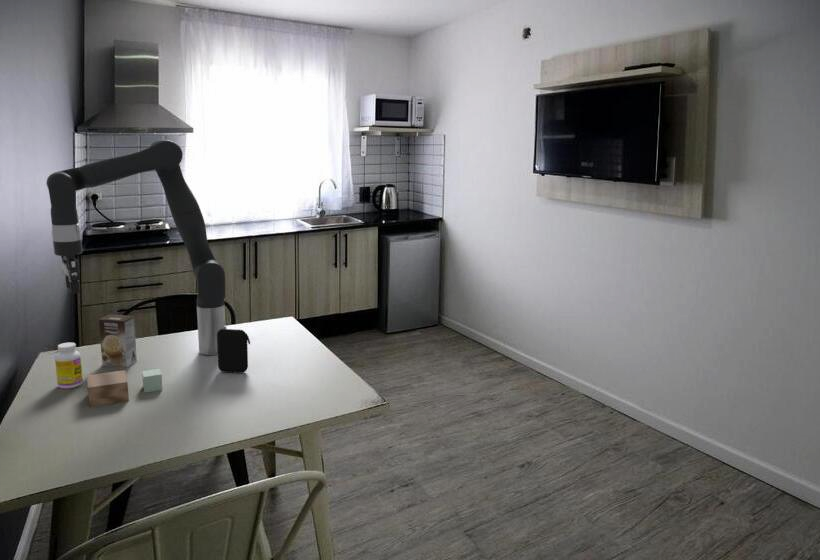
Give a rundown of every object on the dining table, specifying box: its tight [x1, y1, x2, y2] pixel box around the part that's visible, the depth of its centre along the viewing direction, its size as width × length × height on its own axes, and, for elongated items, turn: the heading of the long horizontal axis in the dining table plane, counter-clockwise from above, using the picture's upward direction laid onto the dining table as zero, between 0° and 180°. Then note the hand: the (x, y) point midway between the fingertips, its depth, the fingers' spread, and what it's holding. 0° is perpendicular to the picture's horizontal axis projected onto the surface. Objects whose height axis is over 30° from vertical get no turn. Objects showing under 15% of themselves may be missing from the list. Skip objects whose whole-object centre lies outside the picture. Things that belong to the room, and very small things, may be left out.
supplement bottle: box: [54, 342, 84, 389], centre depth 176 cm, size 7×7×13 cm
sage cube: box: [141, 368, 163, 393], centre depth 177 cm, size 5×5×5 cm
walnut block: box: [86, 369, 130, 408], centre depth 170 cm, size 10×10×6 cm
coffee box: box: [98, 313, 138, 368], centre depth 195 cm, size 9×6×16 cm
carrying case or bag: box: [217, 328, 251, 373], centre depth 190 cm, size 11×3×15 cm, turn 89°
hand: (73, 290), depth 182 cm, fingers open, 8 cm apart
